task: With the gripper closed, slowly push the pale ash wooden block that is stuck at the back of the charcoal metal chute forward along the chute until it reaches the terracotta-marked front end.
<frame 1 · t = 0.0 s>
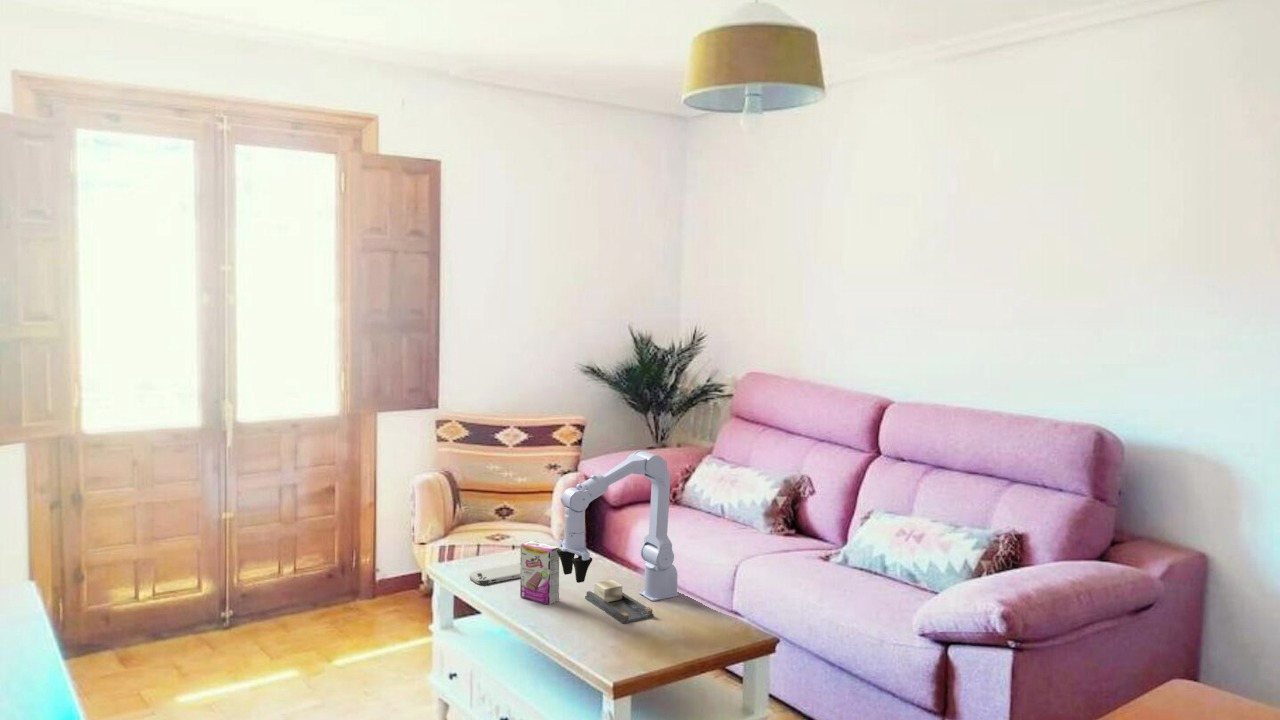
hand: (574, 577, 254), 10 cm above the table, tool pointing down, fingers open, 7 cm apart
chute: (618, 607, 260), on the table
candy bar box: (539, 600, 265), on the table
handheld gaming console: (506, 577, 285), on the table
jammed block: (608, 591, 264), point 3 cm above the table, slide at 0.0 cm
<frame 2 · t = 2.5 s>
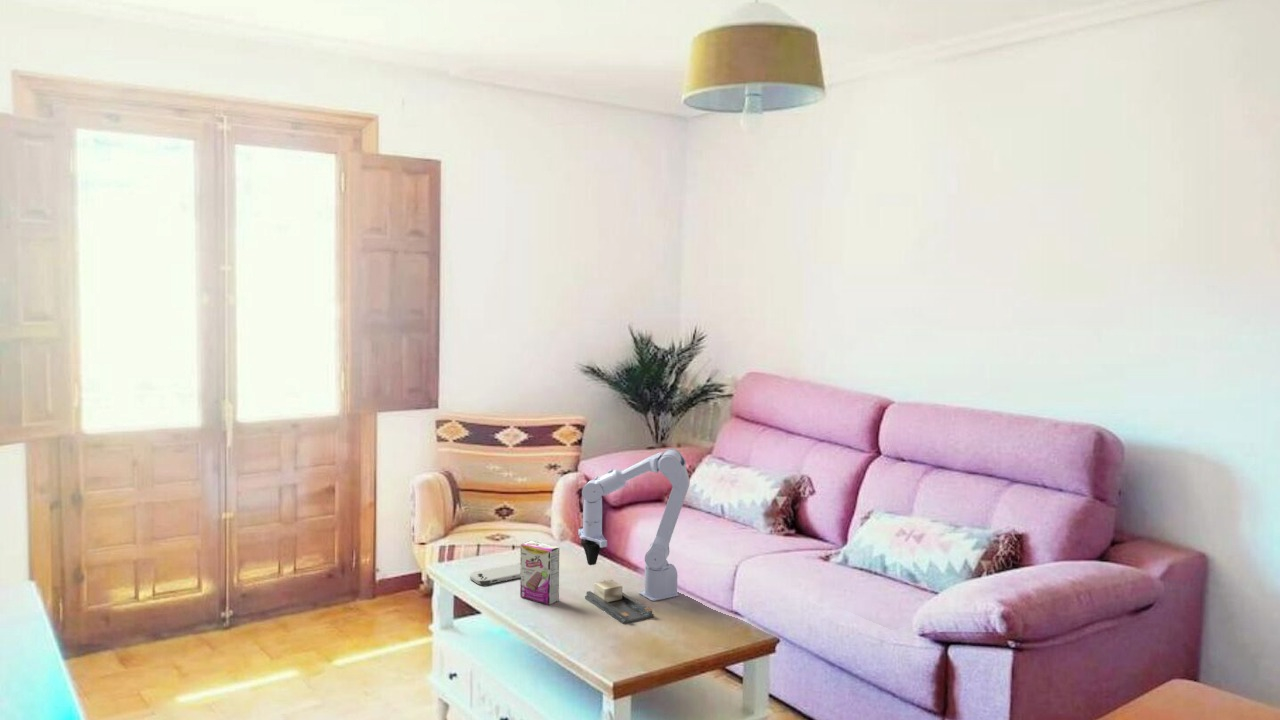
hand: (591, 564, 272), 8 cm above the table, tool pointing down, fingers closed
nothing on the table moved.
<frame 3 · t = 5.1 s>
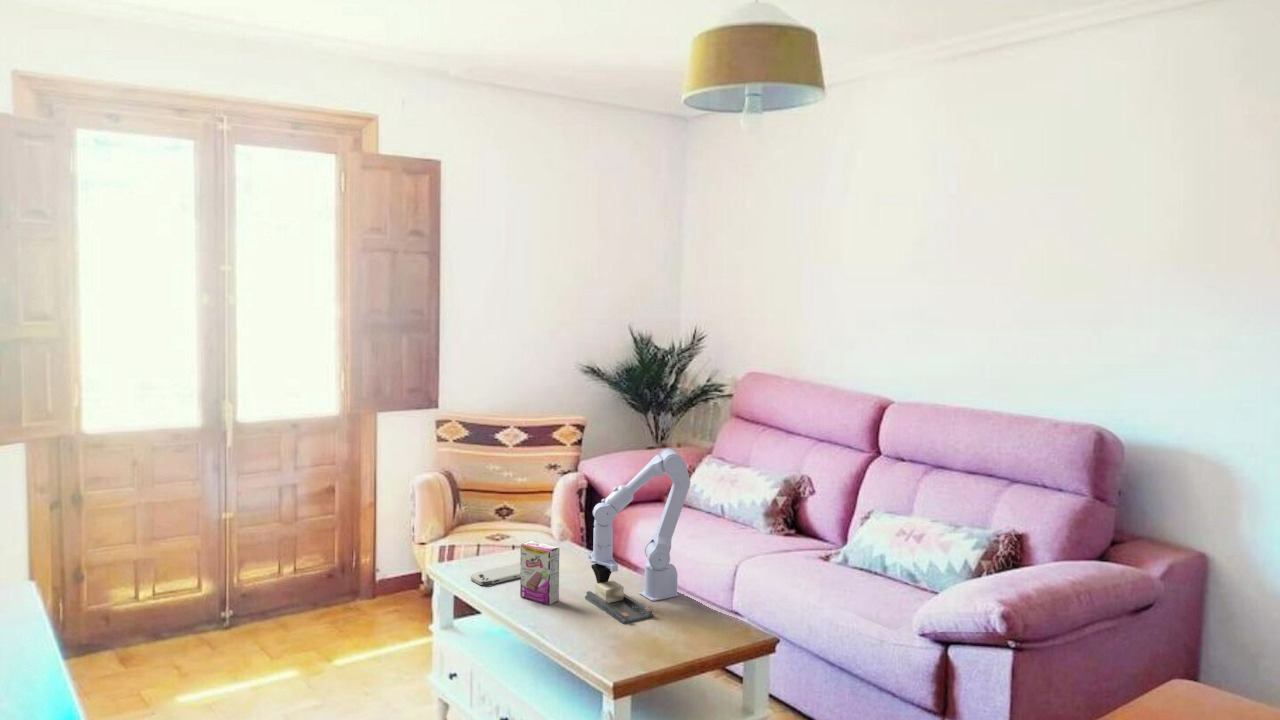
hand: (602, 588, 267), 3 cm above the table, tool pointing down, fingers closed
jammed block: (609, 591, 264), point 3 cm above the table, slide at 0.7 cm, touching gripper
everything else where it was.
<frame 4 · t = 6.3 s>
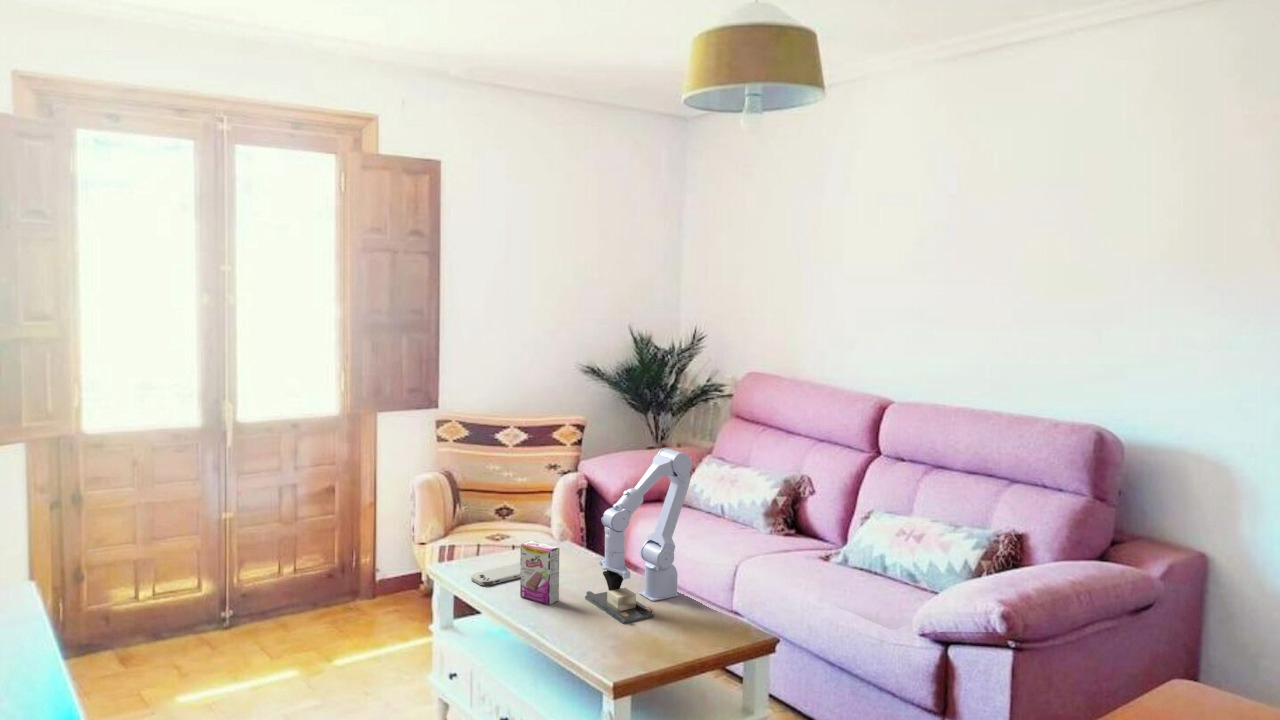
hand: (614, 595, 262), 3 cm above the table, tool pointing down, fingers closed
jammed block: (621, 599, 258), point 3 cm above the table, slide at 7.6 cm, touching gripper
everything else where it was.
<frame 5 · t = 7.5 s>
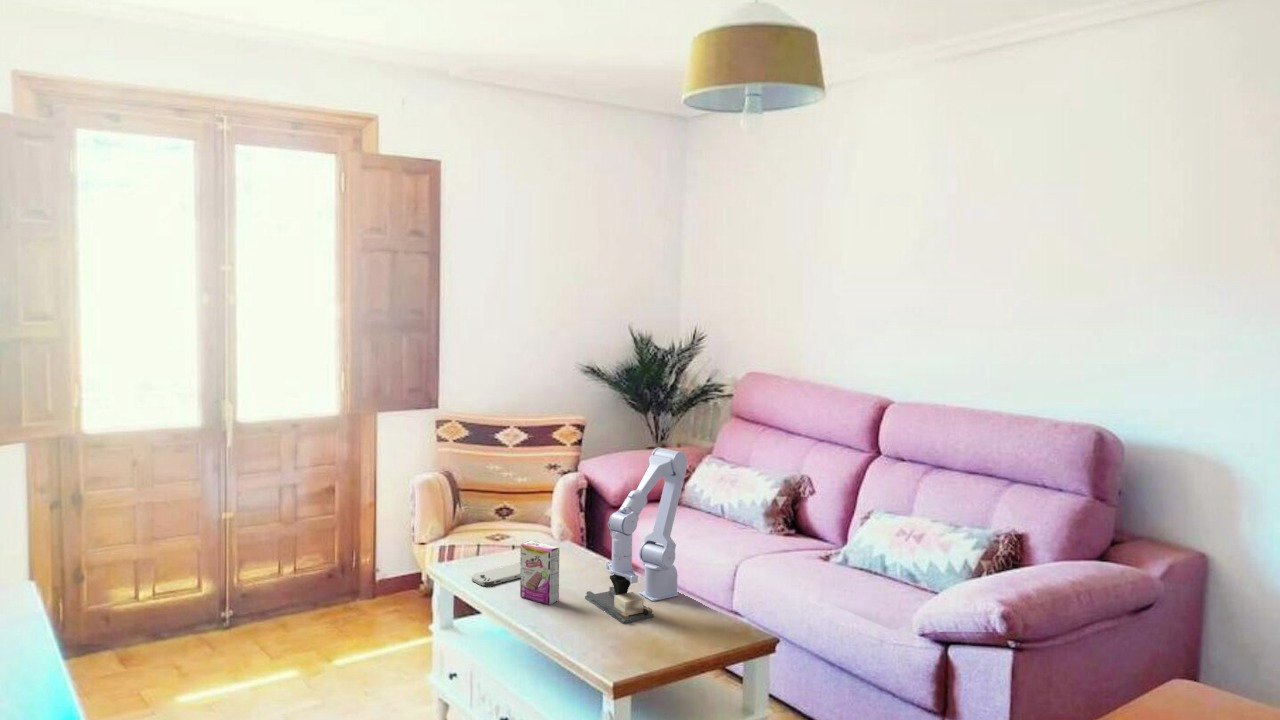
hand: (621, 600, 258), 3 cm above the table, tool pointing down, fingers closed
jammed block: (628, 603, 255), point 3 cm above the table, slide at 11.7 cm, touching gripper
everything else where it was.
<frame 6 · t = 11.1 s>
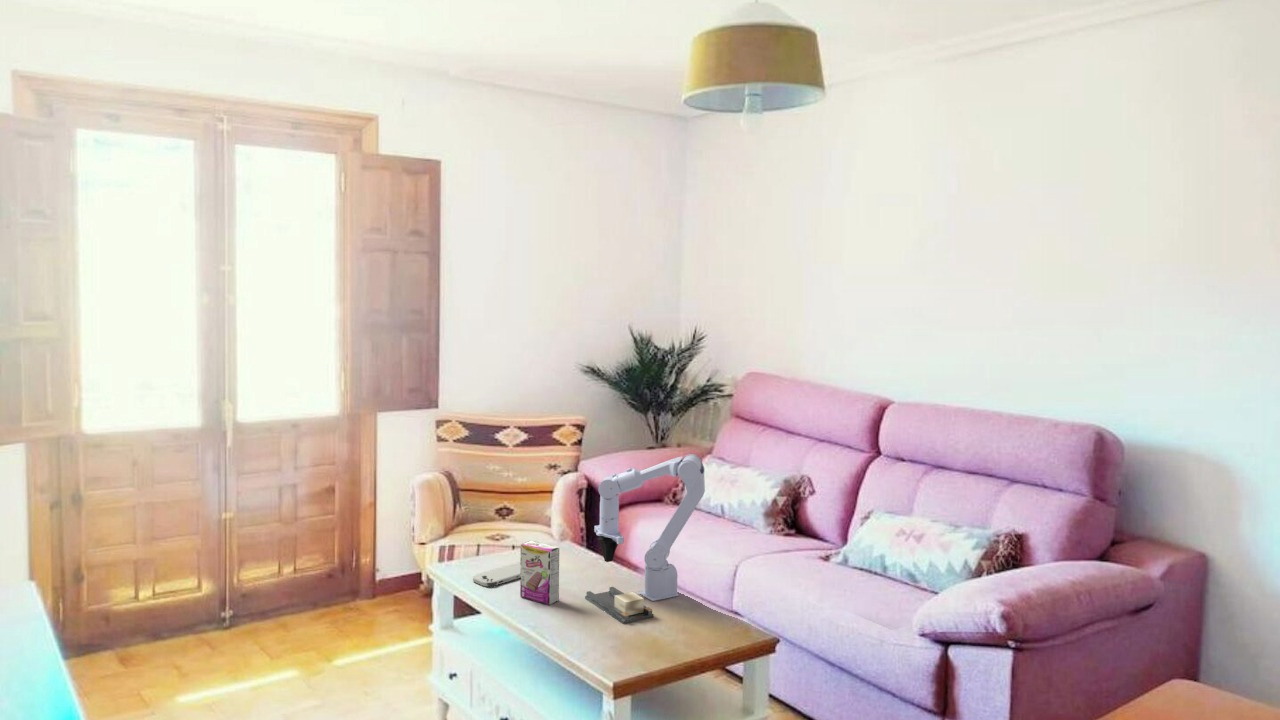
hand: (608, 561, 272), 9 cm above the table, tool pointing down, fingers closed
jammed block: (628, 603, 254), point 3 cm above the table, slide at 11.8 cm
at the end: jammed block slide at 11.8 cm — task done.
